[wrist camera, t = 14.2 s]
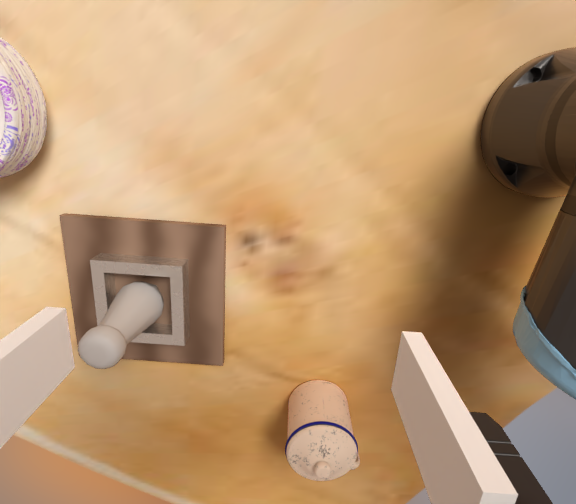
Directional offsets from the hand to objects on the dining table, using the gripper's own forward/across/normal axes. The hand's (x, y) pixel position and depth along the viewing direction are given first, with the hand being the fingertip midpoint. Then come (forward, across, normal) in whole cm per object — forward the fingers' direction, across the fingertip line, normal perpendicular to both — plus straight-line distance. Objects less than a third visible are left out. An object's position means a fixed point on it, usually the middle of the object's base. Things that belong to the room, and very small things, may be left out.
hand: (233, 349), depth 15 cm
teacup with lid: (+32, +9, -31) cm, 45 cm away
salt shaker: (+31, -16, -14) cm, 37 cm away
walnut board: (+31, -16, -14) cm, 38 cm away
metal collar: (+30, -16, -14) cm, 37 cm away
